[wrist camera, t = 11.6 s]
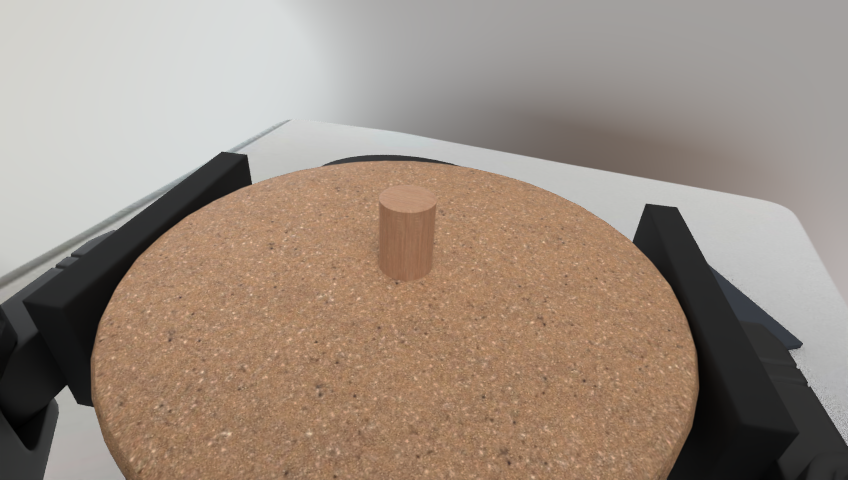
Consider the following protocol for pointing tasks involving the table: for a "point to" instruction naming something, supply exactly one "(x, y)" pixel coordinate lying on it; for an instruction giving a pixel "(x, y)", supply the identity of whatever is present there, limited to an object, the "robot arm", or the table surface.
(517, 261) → the trinket box
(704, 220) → the table surface
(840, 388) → the table surface
